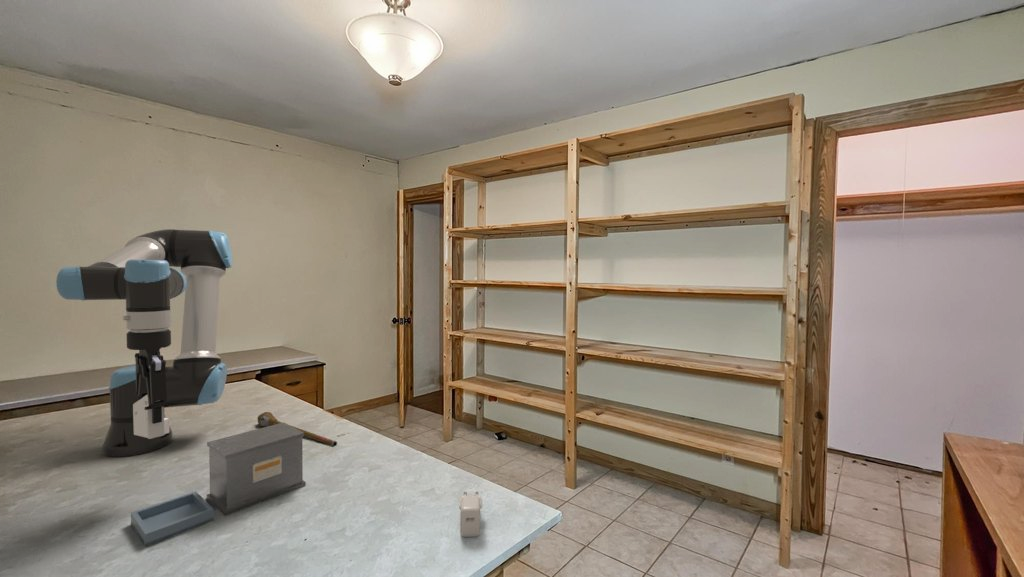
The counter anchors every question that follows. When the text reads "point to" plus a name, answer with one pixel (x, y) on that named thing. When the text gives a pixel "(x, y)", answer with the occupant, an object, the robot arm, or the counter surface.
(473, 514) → the power adapter
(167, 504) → the tray
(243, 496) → the box
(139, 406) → the white wedge bracket
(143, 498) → the counter surface
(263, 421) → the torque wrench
